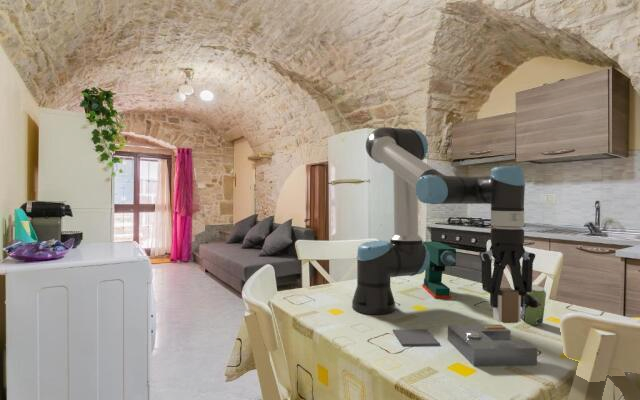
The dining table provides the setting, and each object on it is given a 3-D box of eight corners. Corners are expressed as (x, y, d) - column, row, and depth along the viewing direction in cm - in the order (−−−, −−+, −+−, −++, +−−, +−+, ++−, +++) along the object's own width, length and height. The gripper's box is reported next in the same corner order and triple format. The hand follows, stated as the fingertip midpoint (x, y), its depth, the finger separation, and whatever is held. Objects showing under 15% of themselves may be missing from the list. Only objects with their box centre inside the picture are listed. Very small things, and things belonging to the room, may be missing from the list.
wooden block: (509, 317, 92) (509, 287, 91) (519, 323, 88) (519, 291, 88) (494, 318, 91) (494, 287, 91) (503, 323, 87) (504, 291, 87)
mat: (402, 347, 92) (402, 343, 92) (392, 333, 102) (392, 329, 102) (439, 347, 93) (439, 343, 93) (426, 332, 103) (426, 329, 103)
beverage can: (532, 319, 115) (533, 282, 115) (551, 327, 107) (551, 288, 107) (515, 320, 114) (515, 283, 113) (532, 328, 106) (533, 289, 106)
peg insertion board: (474, 366, 81) (474, 346, 81) (447, 339, 96) (447, 323, 96) (536, 365, 82) (537, 345, 82) (500, 338, 97) (501, 322, 97)
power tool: (466, 310, 124) (467, 253, 123) (446, 309, 124) (447, 252, 124) (438, 286, 156) (438, 241, 155) (422, 286, 156) (422, 241, 155)
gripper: (481, 229, 85) (481, 325, 85) (550, 228, 86) (549, 324, 86) (467, 226, 93) (466, 315, 93) (530, 226, 93) (530, 314, 93)
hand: (506, 319), depth 89 cm, fingers closed on wooden block, 4 cm apart
